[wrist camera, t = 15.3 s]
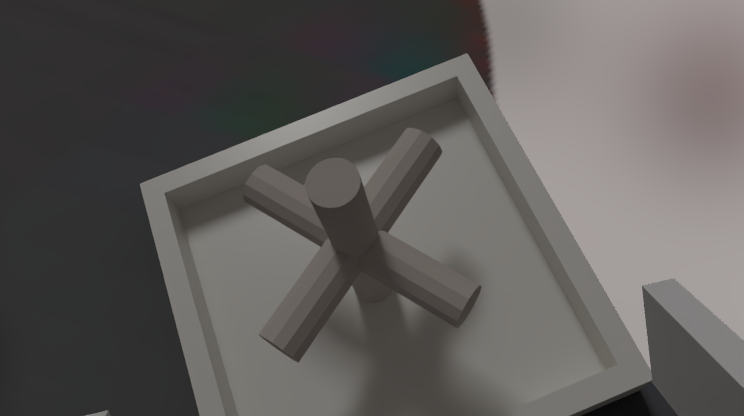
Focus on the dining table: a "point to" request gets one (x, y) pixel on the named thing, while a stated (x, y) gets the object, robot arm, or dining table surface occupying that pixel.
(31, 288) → the dining table surface
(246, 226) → the tray
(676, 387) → the robot arm
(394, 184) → the pipe connector
